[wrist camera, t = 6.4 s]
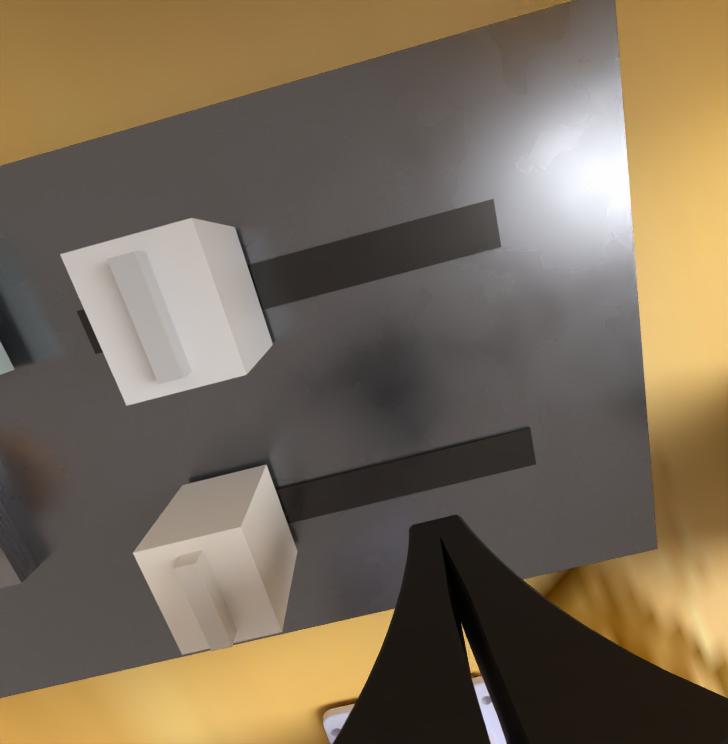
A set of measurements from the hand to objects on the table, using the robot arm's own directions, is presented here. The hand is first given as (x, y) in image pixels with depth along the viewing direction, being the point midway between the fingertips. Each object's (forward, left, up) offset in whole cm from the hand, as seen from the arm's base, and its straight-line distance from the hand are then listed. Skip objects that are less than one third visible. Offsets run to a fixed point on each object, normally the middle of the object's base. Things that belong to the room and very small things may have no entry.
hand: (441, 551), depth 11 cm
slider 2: (0, +6, -4) cm, 7 cm away
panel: (+4, +7, -5) cm, 10 cm away
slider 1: (+8, +5, -4) cm, 10 cm away
